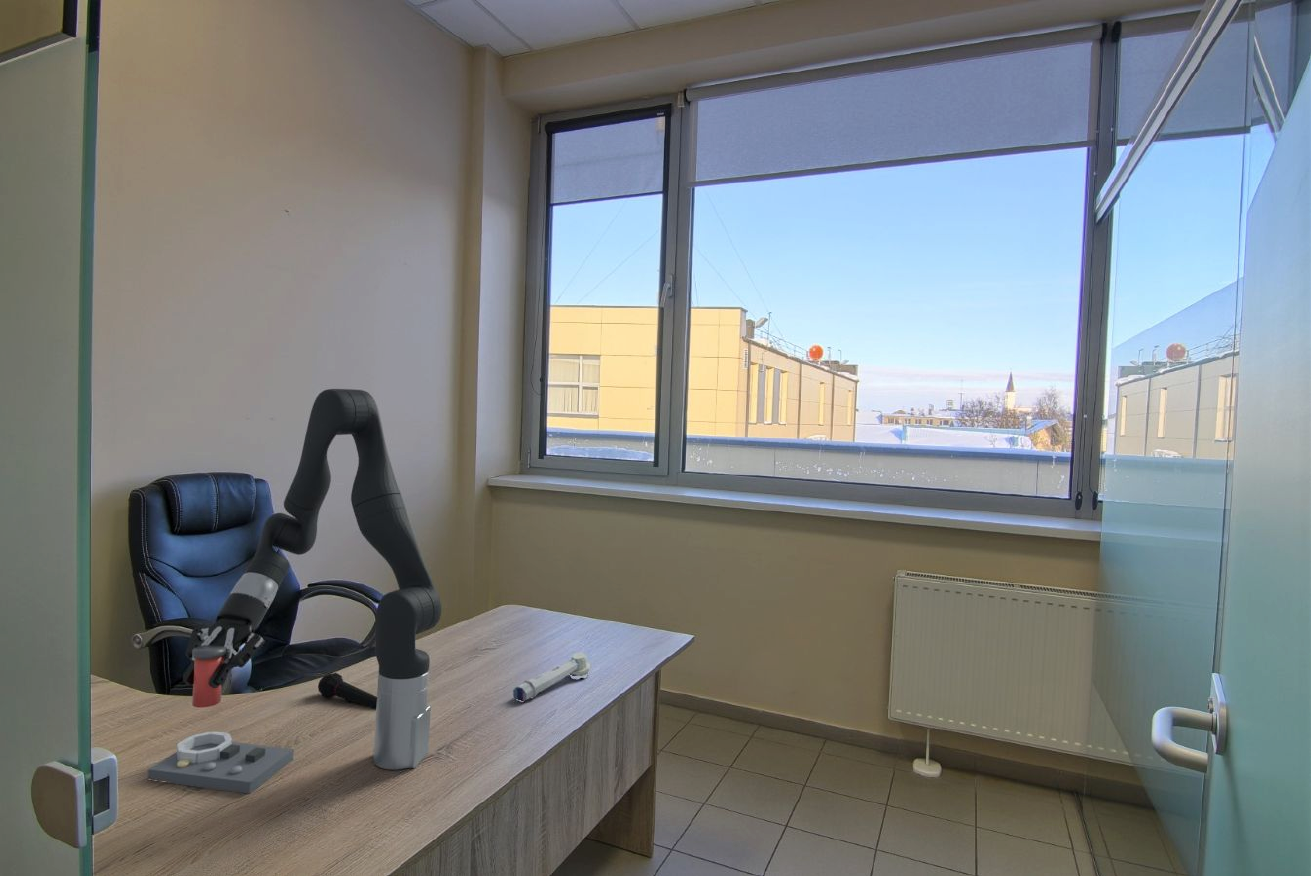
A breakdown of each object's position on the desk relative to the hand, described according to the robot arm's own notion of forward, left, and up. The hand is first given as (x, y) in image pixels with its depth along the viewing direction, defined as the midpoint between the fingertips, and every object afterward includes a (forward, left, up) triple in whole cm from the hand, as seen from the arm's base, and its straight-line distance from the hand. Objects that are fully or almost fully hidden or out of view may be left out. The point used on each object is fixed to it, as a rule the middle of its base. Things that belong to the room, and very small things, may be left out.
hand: (200, 684), depth 125 cm
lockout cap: (0, -2, -4) cm, 4 cm away
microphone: (-12, -32, -16) cm, 38 cm away
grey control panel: (-5, 0, -15) cm, 16 cm away
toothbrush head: (-53, -53, -16) cm, 77 cm away
